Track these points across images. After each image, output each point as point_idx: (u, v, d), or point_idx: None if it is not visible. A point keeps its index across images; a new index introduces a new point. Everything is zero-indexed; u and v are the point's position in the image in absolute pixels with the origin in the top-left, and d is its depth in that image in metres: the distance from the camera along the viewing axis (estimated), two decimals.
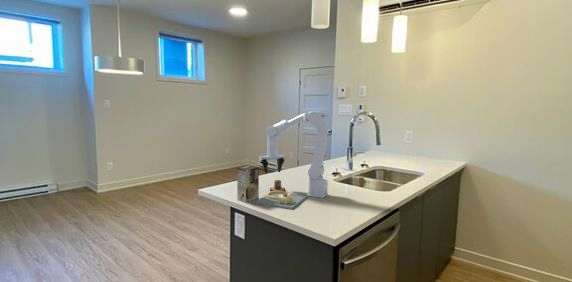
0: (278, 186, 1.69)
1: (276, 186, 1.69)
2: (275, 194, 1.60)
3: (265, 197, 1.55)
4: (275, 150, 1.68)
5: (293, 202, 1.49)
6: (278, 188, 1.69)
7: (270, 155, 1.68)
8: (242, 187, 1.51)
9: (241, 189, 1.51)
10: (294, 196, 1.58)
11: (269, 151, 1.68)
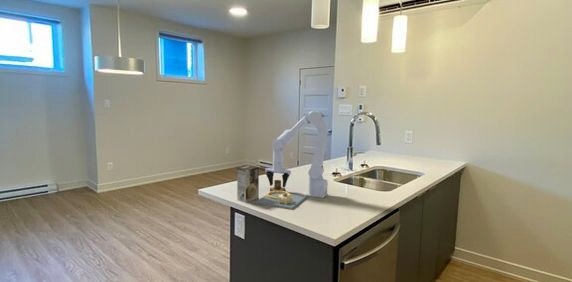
0: (278, 186, 1.69)
1: (276, 186, 1.69)
2: (275, 194, 1.60)
3: (265, 197, 1.55)
4: (276, 164, 1.66)
5: (293, 202, 1.49)
6: (278, 188, 1.69)
7: (273, 168, 1.68)
8: (242, 187, 1.51)
9: (241, 189, 1.51)
10: (294, 196, 1.58)
11: None
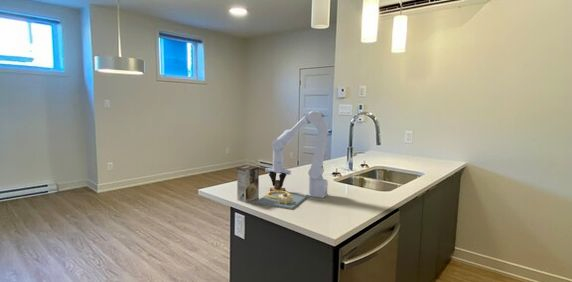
0: (278, 186, 1.69)
1: (276, 186, 1.69)
2: (275, 194, 1.60)
3: (265, 197, 1.55)
4: (276, 164, 1.66)
5: (293, 202, 1.49)
6: (278, 188, 1.69)
7: (273, 168, 1.68)
8: (242, 187, 1.51)
9: (241, 189, 1.51)
10: (294, 196, 1.58)
11: None
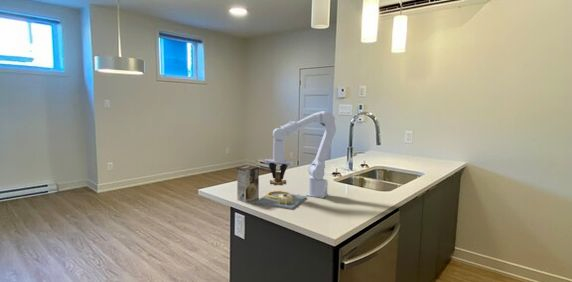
0: (279, 178, 1.58)
1: (277, 178, 1.58)
2: (275, 194, 1.60)
3: (265, 197, 1.55)
4: (277, 154, 1.55)
5: (293, 202, 1.49)
6: (279, 180, 1.58)
7: (273, 159, 1.57)
8: (242, 187, 1.51)
9: (241, 189, 1.51)
10: (294, 196, 1.58)
11: (273, 155, 1.58)
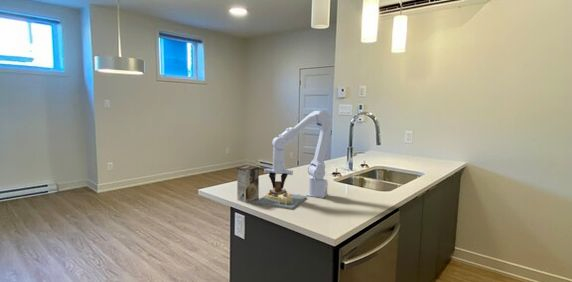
0: (279, 188, 1.56)
1: (277, 188, 1.56)
2: None
3: (265, 197, 1.55)
4: (278, 164, 1.53)
5: (293, 202, 1.49)
6: (279, 190, 1.56)
7: (273, 169, 1.55)
8: (242, 187, 1.51)
9: (241, 189, 1.51)
10: (294, 196, 1.58)
11: (273, 164, 1.55)
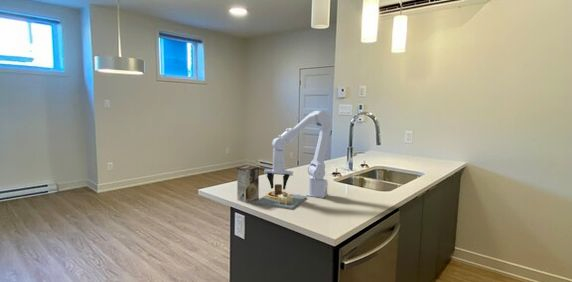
0: (279, 191, 1.56)
1: (277, 191, 1.56)
2: None
3: (265, 197, 1.55)
4: (278, 165, 1.53)
5: (293, 202, 1.49)
6: (279, 193, 1.56)
7: (273, 169, 1.55)
8: (242, 187, 1.51)
9: (241, 189, 1.51)
10: (294, 196, 1.58)
11: (273, 165, 1.55)
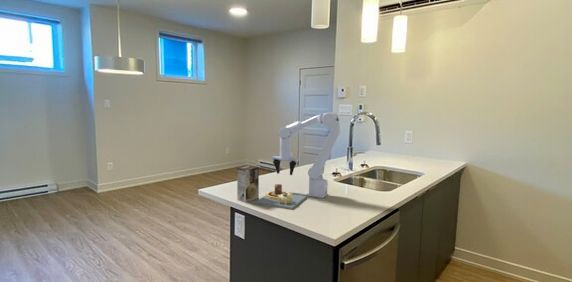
0: (279, 191, 1.56)
1: (277, 191, 1.56)
2: None
3: (265, 197, 1.55)
4: (284, 151, 1.65)
5: (293, 202, 1.49)
6: (279, 193, 1.56)
7: (280, 156, 1.67)
8: (242, 187, 1.51)
9: (241, 189, 1.51)
10: (294, 196, 1.58)
11: None
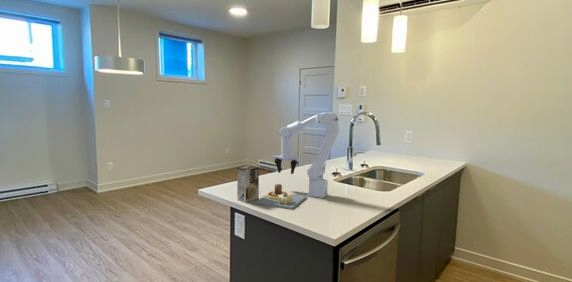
0: (279, 191, 1.56)
1: (277, 191, 1.56)
2: None
3: (265, 197, 1.55)
4: (285, 151, 1.68)
5: (293, 202, 1.49)
6: (279, 193, 1.56)
7: (281, 155, 1.70)
8: (242, 187, 1.51)
9: (241, 189, 1.51)
10: (294, 196, 1.58)
11: (281, 151, 1.70)
